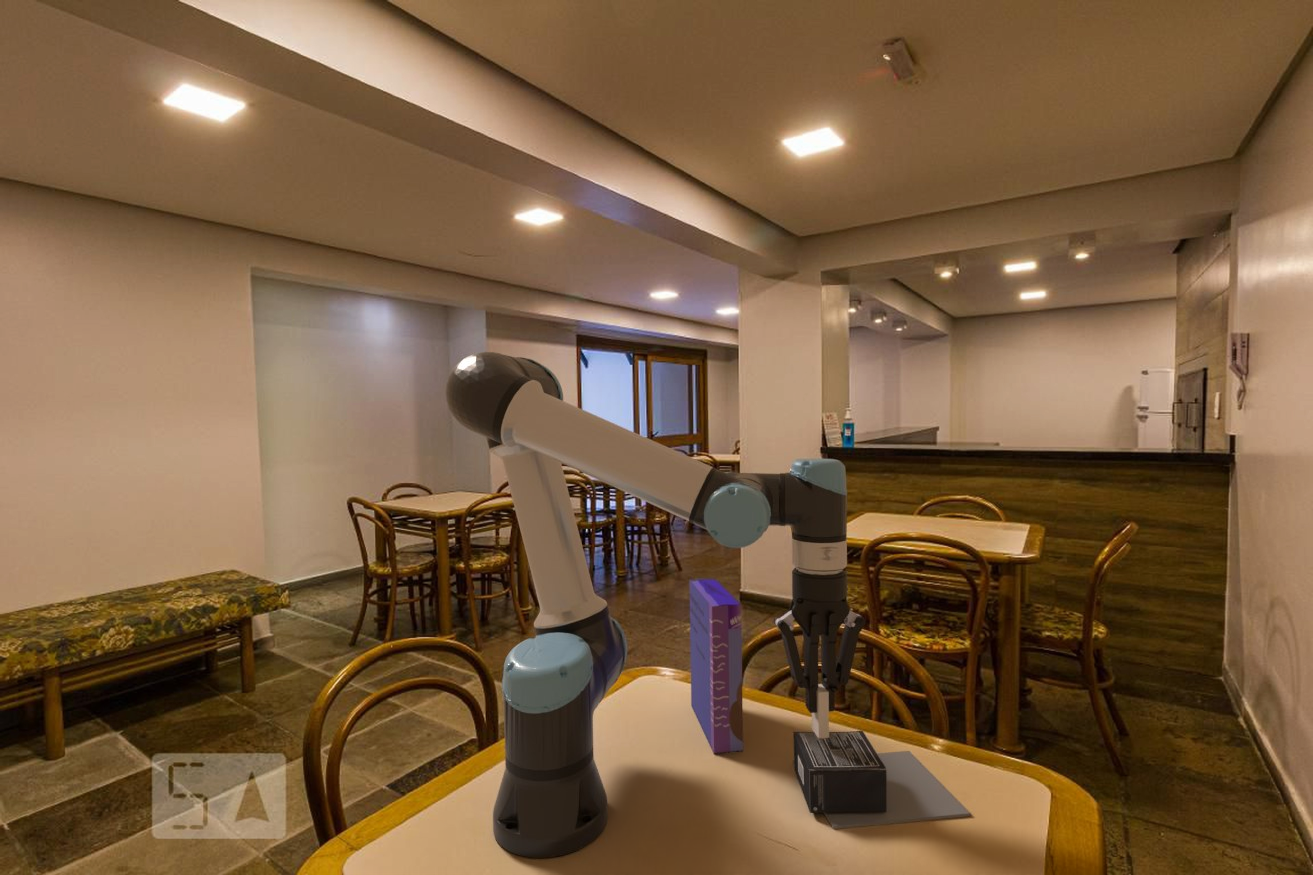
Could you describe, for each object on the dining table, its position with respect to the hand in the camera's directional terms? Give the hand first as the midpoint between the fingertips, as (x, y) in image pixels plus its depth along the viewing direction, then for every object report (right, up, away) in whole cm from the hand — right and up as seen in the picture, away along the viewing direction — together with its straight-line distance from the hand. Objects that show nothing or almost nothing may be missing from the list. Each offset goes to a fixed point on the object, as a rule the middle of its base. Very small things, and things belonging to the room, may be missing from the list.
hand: (820, 732), depth 90 cm
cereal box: (-13, -8, +20) cm, 25 cm away
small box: (-3, -5, -1) cm, 6 cm away
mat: (+8, -8, +1) cm, 12 cm away
